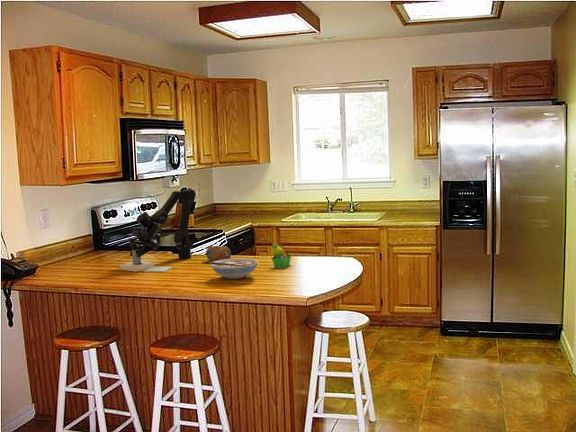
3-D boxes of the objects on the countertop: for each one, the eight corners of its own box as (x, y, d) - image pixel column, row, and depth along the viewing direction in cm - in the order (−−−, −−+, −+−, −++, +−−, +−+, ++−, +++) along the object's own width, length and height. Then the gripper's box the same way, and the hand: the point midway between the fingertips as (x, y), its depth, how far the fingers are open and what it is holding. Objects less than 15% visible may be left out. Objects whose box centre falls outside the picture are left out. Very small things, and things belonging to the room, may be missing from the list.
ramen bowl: (270, 275, 301) (269, 258, 301) (243, 285, 282) (242, 267, 281) (228, 271, 314) (227, 255, 313) (199, 280, 295) (198, 263, 294)
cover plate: (138, 265, 340) (138, 260, 340) (154, 267, 332) (153, 262, 332) (120, 269, 331) (120, 264, 331) (135, 271, 323) (135, 266, 323)
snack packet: (206, 260, 346) (205, 245, 345) (209, 259, 349) (208, 244, 348) (229, 262, 339) (228, 247, 338) (232, 261, 342) (231, 246, 341)
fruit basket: (285, 268, 316) (284, 246, 315) (269, 267, 319) (268, 246, 318) (292, 264, 327) (291, 242, 326) (276, 263, 330) (275, 242, 329)
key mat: (153, 267, 332) (153, 266, 332) (172, 267, 329) (172, 266, 329) (144, 271, 322) (143, 270, 321) (163, 272, 319) (163, 270, 319)
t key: (136, 267, 335) (134, 248, 334) (143, 268, 331) (142, 249, 330) (131, 268, 332) (130, 249, 331) (138, 269, 329) (137, 250, 328)
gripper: (129, 223, 338) (113, 246, 331) (151, 224, 326) (136, 248, 319) (142, 235, 345) (127, 258, 338) (164, 237, 333) (149, 261, 326)
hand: (134, 256), depth 330 cm, fingers open, 6 cm apart
